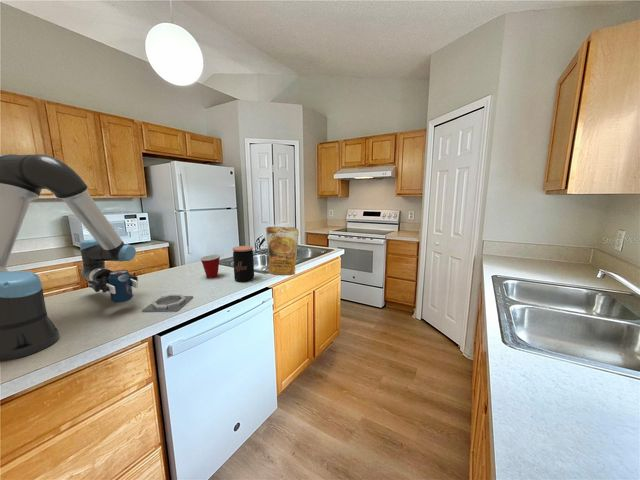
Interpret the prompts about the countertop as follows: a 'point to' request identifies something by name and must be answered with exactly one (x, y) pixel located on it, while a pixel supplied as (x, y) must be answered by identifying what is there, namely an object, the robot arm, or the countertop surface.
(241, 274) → the coffee jar
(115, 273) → the soda can
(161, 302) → the mount plate
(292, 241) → the pancake mix bag
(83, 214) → the robot arm
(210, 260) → the plastic cup
